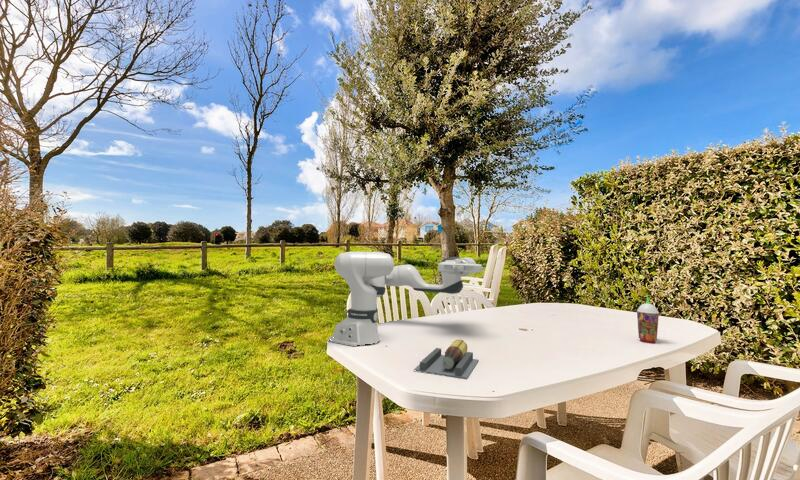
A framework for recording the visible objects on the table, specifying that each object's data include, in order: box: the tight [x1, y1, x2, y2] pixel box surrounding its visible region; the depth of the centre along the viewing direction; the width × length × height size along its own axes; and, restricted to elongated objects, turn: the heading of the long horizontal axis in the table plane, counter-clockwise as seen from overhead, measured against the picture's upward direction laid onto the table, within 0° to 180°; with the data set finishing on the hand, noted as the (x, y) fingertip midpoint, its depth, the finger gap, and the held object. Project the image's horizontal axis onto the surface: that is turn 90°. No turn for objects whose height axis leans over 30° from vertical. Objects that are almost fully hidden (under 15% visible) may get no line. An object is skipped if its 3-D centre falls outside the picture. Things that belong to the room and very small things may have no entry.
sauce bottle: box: [442, 339, 468, 369], centre depth 130 cm, size 6×6×20 cm
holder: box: [413, 347, 480, 380], centre depth 128 cm, size 18×20×3 cm
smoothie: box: [636, 297, 660, 344], centre depth 165 cm, size 8×8×20 cm
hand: (456, 268), depth 164 cm, fingers closed
